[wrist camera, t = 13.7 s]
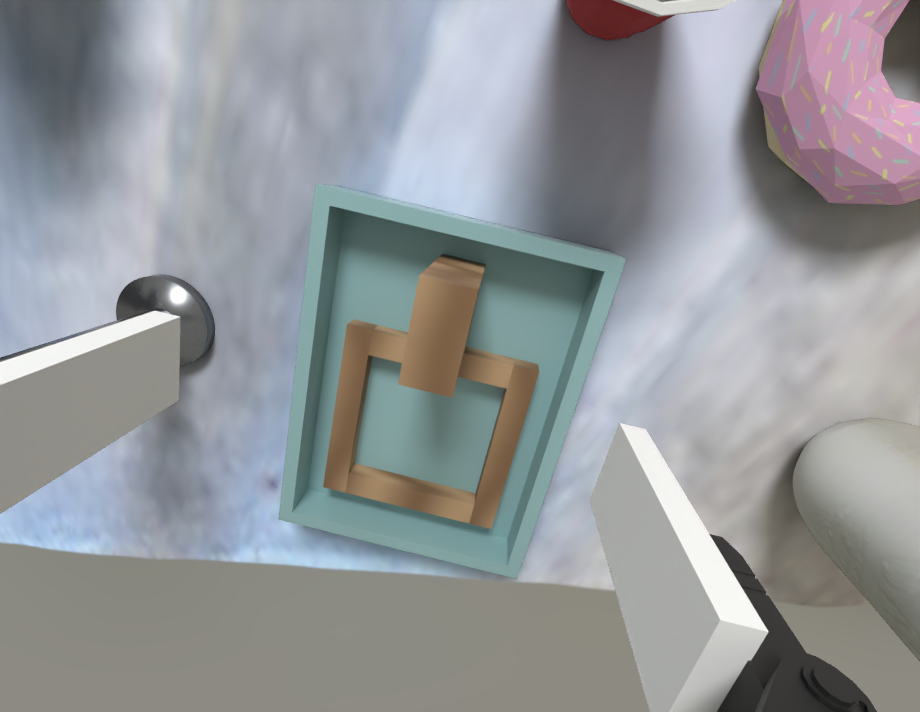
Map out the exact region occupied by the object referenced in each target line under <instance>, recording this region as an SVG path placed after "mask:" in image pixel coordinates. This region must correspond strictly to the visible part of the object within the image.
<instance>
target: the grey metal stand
mask: <svg viewBox="0 0 920 712" xmlns="http://www.w3.org/2000/svg"><path fill="white" fill-rule="evenodd" d="M152 311H159V312H163V313H167V314H171V315H175V316H180V367H182V366H185V365H188V364H190V363H192V362H194V361H196V360H197V359H199V358H201V357H202V356H203V355H204V354H205V353H206V352H207V351H208V350H209V348H210V347H211V344H212V342H213V338H214V332H215V330H214V320H213V316H212V313H211V310H210V308H209V306H208V304H207V303H206V301H205V300H204V298H203V297H202V296H201V295H200V293H199V292H198V291H197V290H196V289H195V288H193V287H192V286H191V285H189V284H188V283H186V282H185V281H183V280H181V279H179V278H176V277H173V276H169V275H152V276H148V277H143V278H139V279H137V280H134V281H132V282H131V283H129V284H128V285H127V286H126V287H125V288H124V289H123V291H122V292H121V294H120V296H119V298H118V301H117V307H116V315H117V321H114V322H110V323H107V324H104V325H101V326H98V327H95V328H92V329H89V330H86V331H82V332H79V333H76V334H73V335H70V336H67V337H64V338H61V339H57V340H54V341H51V342H48V343H45V344H42V345H39V346H36V347H33V348H29V349H26V350H23V351H20V352H17V353H14V354H11V355H8V356H4V357H1V358H0V362H2V361H5V360H8V359H11V358H14V357H17V356H20V355H23V354H26V353H29V352H32V351H35V350H38V349H41V348H44V347H47V346H50V345H53V344H56V343H59V342H62V341H65V340H68V339H71V338H74V337H77V336H80V335H83V334H86V333H89V332H92V331H95V330H98V329H101V328H104V327H107V326H110V325H113V324H116V323H119V322H122V321H125V320H128V319H131V318H134V317H137V316H140V315H143V314H146V313H149V312H152Z"/></svg>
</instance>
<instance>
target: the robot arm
mask: <svg viewBox="0 0 920 712" xmlns="http://www.w3.org/2000/svg"><path fill="white" fill-rule="evenodd" d="M179 369H180V316H175V315H171V314H167V313H163V312H159V311H152V312H149V313H146V314H143V315H140V316H137V317H134V318H131V319H128V320H125V321H122V322H119V323H116V324H113V325H110V326H107V327H104V328H101V329H98V330H95V331H92V332H89V333H86V334H83V335H80V336H77V337H74V338H71V339H68V340H65V341H62V342H59V343H56V344H53V345H50V346H47V347H44V348H41V349H38V350H35V351H32V352H29V353H26V354H23V355H20V356H17V357H14V358H11V359H8V360H5V361H2V362H0V514H1V513H2V512H4V511H6V510H7V509H9V508H10V507H12V506H13V505H15V504H17V503H18V502H20V501H21V500H23V499H24V498H26V497H28V496H29V495H31V494H32V493H34V492H36V491H37V490H39V489H40V488H42V487H43V486H45V485H47V484H48V483H50V482H51V481H53V480H54V479H56V478H58V477H59V476H61V475H62V474H64V473H65V472H67V471H69V470H70V469H72V468H73V467H75V466H76V465H78V464H80V463H81V462H83V461H84V460H86V459H87V458H89V457H91V456H92V455H94V454H95V453H97V452H98V451H100V450H102V449H103V448H105V447H106V446H108V445H109V444H111V443H113V442H114V441H116V440H117V439H119V438H120V437H122V436H124V435H125V434H127V433H128V432H130V431H132V430H133V429H135V428H136V427H138V426H139V425H141V424H143V423H144V422H146V421H147V420H149V419H150V418H152V417H154V416H155V415H157V414H158V413H160V412H161V411H163V410H165V409H166V408H168V407H169V406H171V405H172V404H174V403H176V402H177V401H179ZM590 503H591V506H592V510H593V513H594V517H595V520H596V524H597V527H598V531H599V534H600V538H601V541H602V545H603V548H604V552H605V555H606V559H607V562H608V566H609V569H610V573H611V577H612V580H613V584H614V587H615V591H616V594H617V598H618V601H619V604H620V608H621V612H622V615H623V619H624V622H625V625H626V629H627V633H628V636H629V640H630V643H631V647H632V650H633V654H634V657H635V661H636V664H637V668H638V671H639V675H640V678H641V682H642V685H643V689H644V692H645V696H646V699H647V702H648V706H649V710H650V712H877V711H876V710H875V708H874V706H873V705H872V703H871V702H870V700H869V699H868V697H867V696H866V695H865V694H864V693H863V692H862V691H861V690H860V689H859V688H858V687H857V686H856V684H855V683H853V681H851V680H850V679H849V678H848V677H846V676H845V675H844V674H843V673H841V672H840V671H839V670H837V669H836V668H835V667H833V666H832V665H830V664H828V663H826V662H825V661H823V660H821V659H819V658H818V657H816V656H813V655H810V654H807V653H806V652H805V650H804V649H803V647H802V646H801V644H800V643H799V641H798V640H797V638H796V637H795V635H794V634H793V632H792V631H791V629H790V628H789V626H788V625H787V623H786V622H785V620H784V619H783V617H782V616H781V614H780V613H779V611H778V610H777V608H776V607H775V605H774V604H773V602H772V600H771V599H770V597H769V596H766V591H765V590H764V588H763V587H762V585H761V584H760V582H759V581H758V579H755V575H754V573H753V572H752V570H751V569H750V567H749V566H748V564H747V563H746V561H745V560H744V558H743V557H742V555H740V554H739V553H738V552H737V551H736V550H735V549H734V548H733V547H732V546H731V545H730V544H729V543H728V542H727V541H726V540H725V539H724V538H722V537H719V536H715V535H711V534H709V533H708V531H707V530H706V528H705V526H704V525H703V523H702V521H701V520H700V518H699V517H698V515H697V513H696V512H695V510H694V508H693V507H692V505H691V503H690V502H689V500H688V498H687V497H686V495H685V494H684V492H683V490H682V489H681V487H680V485H679V484H678V482H677V480H676V479H675V477H674V475H673V474H672V472H671V471H670V469H669V467H668V466H667V464H666V462H665V461H664V459H663V457H662V456H661V454H660V452H659V451H658V449H657V447H656V446H655V444H654V443H653V441H652V439H651V438H650V436H649V434H648V433H647V431H646V429H642V428H638V427H634V426H630V425H626V424H621V423H619V426H618V429H617V431H616V434H615V436H614V439H613V442H612V444H611V447H610V449H609V452H608V455H607V457H606V460H605V462H604V465H603V468H602V470H601V473H600V475H599V478H598V481H597V483H596V486H595V488H594V491H593V494H592V496H591V499H590Z"/></svg>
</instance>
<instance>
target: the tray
mask: <svg viewBox="0 0 920 712" xmlns="http://www.w3.org/2000/svg"><path fill="white" fill-rule="evenodd" d="M442 254H445V255H450V256H454V257H458V258H462V259H466V260H470V261H474V262H479V263H483V264H486V265H485V270H484V274H483V278H482V282H481V286H480V290H479V294H478V298H477V303H476V307H475V311H474V315H473V319H472V323H471V327H470V332H469V336H468V340H467V344H466V347H470V348H474V349H478V350H482V351H486V352H490V353H494V354H498V355H502V356H507V357H511V358H515V359H519V360H523V361H527V362H531V363H535V364H538V367H539V375H538V378H537V381H536V384H535V388H534V391H533V394H532V397H531V401H530V404H529V407H528V411H527V414H526V417H525V420H524V424H523V427H522V430H521V434H520V437H519V440H518V443H517V447H516V450H515V453H514V456H513V460H512V463H511V466H510V470H509V473H508V476H507V479H506V483H505V486H504V489H503V492H502V496H501V499H500V502H499V506H498V509H497V512H496V515H495V519H494V522H493V525H492V529H489V528H485V527H481V526H477V525H473V524H469V523H465V522H461V521H457V520H453V519H449V518H445V517H441V516H437V515H433V514H429V513H425V512H421V511H417V510H413V509H409V508H405V507H401V506H397V505H393V504H389V503H385V502H381V501H377V500H373V499H369V498H365V497H361V496H357V495H353V494H349V493H345V492H341V491H337V490H333V489H329V488H324V487H323V484H324V477H325V470H326V463H327V457H328V450H329V443H330V436H331V429H332V423H333V416H334V409H335V402H336V395H337V388H338V382H339V375H340V368H341V361H342V354H343V348H344V341H345V334H346V327H347V324H348V323H349V322H351V321H352V320H353V319H355V320H359V321H363V322H367V323H371V324H375V325H379V326H384V327H388V328H392V329H396V330H400V331H404V332H408V330H409V325H410V320H411V315H412V310H413V305H414V300H415V294H416V289H417V284H418V279H419V275H420V274H421V273H422V272H423V271H424V270H425V269H427V268H428V267H429V266H430V265H431V264H432V263H433V262H434V261H435V260H436V259H437V258H438V257H440V256H441V255H442ZM625 262H626V258H624V257H622V256H620V255H618V254H616V253H614V252H611V251H607V250H603V249H599V248H595V247H591V246H586V245H582V244H578V243H574V242H570V241H566V240H561V239H557V238H553V237H549V236H545V235H541V234H536V233H532V232H528V231H524V230H520V229H516V228H511V227H507V226H503V225H499V224H495V223H490V222H486V221H482V220H478V219H474V218H470V217H465V216H461V215H457V214H453V213H449V212H445V211H440V210H436V209H432V208H428V207H424V206H420V205H415V204H411V203H407V202H403V201H399V200H395V199H390V198H386V197H382V196H378V195H374V194H369V193H365V192H361V191H357V190H353V189H349V188H344V187H340V186H333V185H316V184H315V193H314V202H313V211H312V220H311V229H310V238H309V247H308V256H307V265H306V275H305V284H304V293H303V302H302V311H301V320H300V329H299V338H298V347H297V356H296V365H295V374H294V383H293V392H292V401H291V410H290V419H289V428H288V437H287V446H286V456H285V465H284V474H283V483H282V492H281V501H280V510H279V520H283V521H287V522H291V523H295V524H299V525H303V526H307V527H311V528H315V529H319V530H323V531H327V532H331V533H335V534H339V535H343V536H347V537H351V538H355V539H359V540H363V541H367V542H371V543H375V544H379V545H383V546H387V547H391V548H395V549H399V550H403V551H407V552H411V553H415V554H419V555H423V556H427V557H431V558H435V559H439V560H443V561H447V562H451V563H455V564H459V565H463V566H467V567H471V568H475V569H479V570H483V571H487V572H491V573H495V574H499V575H503V576H507V577H511V578H515V579H517V577H518V574H519V571H520V568H521V565H522V562H523V559H524V556H525V553H526V551H527V548H528V545H529V542H530V539H531V536H532V533H533V530H534V527H535V524H536V521H537V519H538V516H539V513H540V510H541V507H542V504H543V501H544V498H545V495H546V492H547V489H548V487H549V484H550V481H551V478H552V475H553V472H554V469H555V466H556V463H557V460H558V457H559V454H560V452H561V449H562V446H563V443H564V440H565V437H566V434H567V431H568V428H569V425H570V422H571V420H572V417H573V414H574V411H575V408H576V405H577V402H578V399H579V396H580V393H581V390H582V388H583V385H584V382H585V379H586V376H587V373H588V370H589V367H590V364H591V361H592V358H593V356H594V353H595V350H596V347H597V344H598V341H599V338H600V335H601V332H602V329H603V326H604V323H605V321H606V318H607V315H608V312H609V309H610V306H611V303H612V300H613V297H614V294H615V291H616V289H617V286H618V283H619V280H620V277H621V274H622V271H623V268H624V265H625ZM401 366H402V363H400V362H395V361H391V360H387V359H383V358H379V357H375V356H372V362H371V368H370V374H369V380H368V386H367V392H366V397H365V403H364V409H363V415H362V421H361V427H360V433H359V439H358V444H357V450H356V456H355V462H354V463H356V464H360V465H364V466H368V467H372V468H376V469H380V470H384V471H388V472H392V473H396V474H400V475H404V476H408V477H412V478H416V479H420V480H424V481H428V482H433V483H437V484H441V485H445V486H449V487H453V488H457V489H461V490H465V491H469V492H473V493H476V489H477V486H478V482H479V479H480V475H481V472H482V468H483V464H484V461H485V457H486V454H487V450H488V447H489V443H490V440H491V436H492V433H493V429H494V425H495V422H496V418H497V415H498V411H499V408H500V404H501V401H502V397H503V393H504V390H505V388H502V387H498V386H494V385H489V384H485V383H481V382H477V381H473V380H469V379H465V378H461V377H458V378H457V382H456V386H455V390H454V394H453V398H451V397H447V396H443V395H439V394H435V393H431V392H427V391H423V390H418V389H414V388H410V387H406V386H402V385H398V382H399V377H400V371H401Z"/></svg>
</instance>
